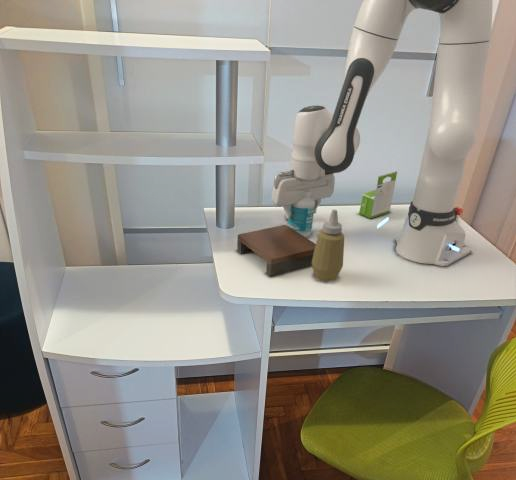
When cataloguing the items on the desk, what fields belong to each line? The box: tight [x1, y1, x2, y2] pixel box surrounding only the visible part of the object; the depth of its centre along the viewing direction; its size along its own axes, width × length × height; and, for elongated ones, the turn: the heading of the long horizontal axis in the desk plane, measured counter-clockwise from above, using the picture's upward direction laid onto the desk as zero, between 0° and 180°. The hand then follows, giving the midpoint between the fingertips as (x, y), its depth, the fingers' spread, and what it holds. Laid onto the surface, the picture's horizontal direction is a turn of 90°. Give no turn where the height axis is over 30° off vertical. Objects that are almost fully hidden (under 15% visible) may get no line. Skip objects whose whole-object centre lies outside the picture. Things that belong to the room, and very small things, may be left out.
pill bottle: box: [287, 191, 315, 238], centre depth 150 cm, size 8×7×14 cm
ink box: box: [358, 170, 398, 220], centre depth 166 cm, size 10×5×14 cm, turn 130°
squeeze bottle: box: [311, 209, 345, 282], centre depth 127 cm, size 8×8×18 cm
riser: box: [236, 224, 316, 278], centre depth 139 cm, size 16×17×5 cm
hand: (300, 215), depth 151 cm, fingers closed on pill bottle, 7 cm apart
